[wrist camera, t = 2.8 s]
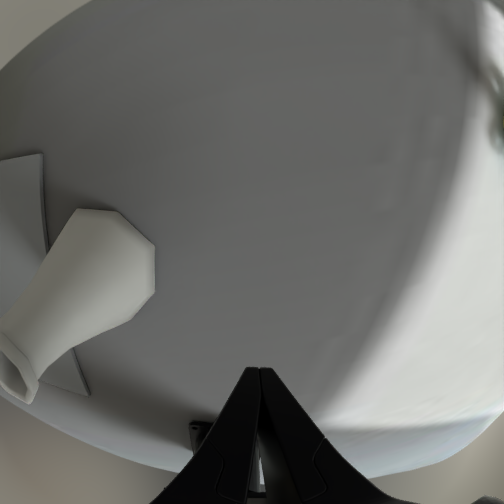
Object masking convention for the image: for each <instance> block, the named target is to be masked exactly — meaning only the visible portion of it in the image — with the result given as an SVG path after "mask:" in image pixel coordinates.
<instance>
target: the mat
mask: <svg viewBox="0 0 504 504" xmlns="http://www.w3.org/2000/svg"><path fill="white" fill-rule="evenodd" d="M48 252H49V245H48V237H47V229H46V219H45V207H44V190H43V153H41V154H34V155H28V156H23V157H17V158H12V159H7V160H2V161H0V318H1V317H2V316H4V315H5V314H6V313H7V312H8V311H9V310H10V309H11V308H12V306H13V305H14V303H15V302H16V301H17V299H18V298H19V297H20V295H21V294H22V293H23V292H24V290H25V289H26V288H27V287H28V285H29V284H30V283H31V281H32V279H33V277H34V276H35V274H36V272H37V270H38V269H39V267H40V265H41V264H42V262H43V260H44V259H45V257H46V255H47V254H48ZM38 380H40V381H43V382H45V383H48V384H51V385H53V386H56V387H59V388H62V389H65V390H67V391H70V392H73V393H77V394H80V395H83V396H86V397H89V396H90V392H89V390H88V387H87V385H86V382H85V380H84V377H83V375H82V372H81V370H80V367H79V364H78V362H77V359H76V356H75V353H74V350H73V347H72V348H70V349H69V350H68V351H66V352H65V353H64V354H63V355H61V356H60V357H59V358H58V359H57V360H55V361H54V362H53V363H52V364H51V365H49V366H48V367H47V368H46V370H45V371H44V372H43V374H42V375H41V376H40V378H39V379H38Z"/></svg>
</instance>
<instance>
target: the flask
mask: <svg viewBox="0 0 504 504" xmlns="http://www.w3.org/2000/svg"><path fill="white" fill-rule="evenodd" d="M154 293H155V246H154V245H153V244H152V243H151V242H150V241H149V240H147V239H146V238H145V237H144V236H143V235H142V234H141V233H140V232H139V231H138V230H137V229H136V228H134V227H133V226H132V225H131V224H130V223H129V222H128V221H127V220H126V219H125V218H124V217H123V216H122V215H121V214H120V213H119V212H116V211H104V210H93V209H81V208H77V209H76V210H75V212H74V213H73V214H72V216H71V217H70V219H69V220H68V222H67V223H66V225H65V226H64V228H63V230H62V231H61V233H60V234H59V236H58V238H57V239H56V241H55V243H54V244H53V246H52V248H51V249H50V251H49V252H48V254H47V255H46V257H45V259H44V260H43V262H42V264H41V265H40V267H39V269H38V270H37V272H36V274H35V276H34V277H33V279H32V281H31V283H30V284H29V285H28V287H27V288H26V289H25V290H24V292H23V293H22V294H21V295H20V297H19V298H18V299H17V301H16V302H15V303H14V305H13V306H12V308H11V309H10V310H9V311H8V312H7V313H6V314H5V315H4V316H2V317H1V318H0V385H1V386H2V387H3V388H4V389H5V390H6V391H7V392H8V393H9V394H11V395H13V396H14V397H16V398H18V399H20V400H22V401H23V402H25V403H27V404H29V405H30V404H31V402H32V401H33V398H34V396H35V394H36V392H37V390H38V387H39V382H38V379H39V378H40V376H41V375H42V374H43V372H44V371H45V370H46V368H47V367H48V366H49V365H51V364H52V363H53V362H54V361H55V360H57V359H58V358H59V357H60V356H61V355H63V354H64V353H65V352H66V351H68V350H69V349H70V348H72V347H74V346H76V345H78V344H80V343H82V342H84V341H86V340H88V339H90V338H92V337H94V336H96V335H98V334H100V333H102V332H105V331H107V330H109V329H112V328H114V327H116V326H119V325H121V324H123V323H125V322H127V321H129V320H131V319H132V318H133V317H134V316H135V314H136V313H137V312H138V311H139V310H140V309H141V308H142V306H143V305H144V304H145V303H146V302H147V301H148V300H149V298H150V297H151V296H152V295H153V294H154Z"/></svg>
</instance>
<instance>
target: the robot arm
mask: <svg viewBox="0 0 504 504" xmlns="http://www.w3.org/2000/svg"><path fill="white" fill-rule="evenodd" d="M189 431H190V438H191V444H192V449H193V455H194V456H193V457H192V459H191V460H190V461H189V462H188V463H187V465H186V466H185V467H184V468H183V469H182V471H181V472H180V473H179V474H178V475H177V476H176V477H175V478H174V479H173V480H172V482H171V483H170V484H169V485H168V486H167V487H166V488H164V490H163V491H162V492H161V493H160V494H159V495H158V496H157V497H156V498H155V499H154V500H153V501H152V502H150V503H149V504H418V503H413V502H409V501H404V500H400V499H396V498H394V497H391V496H389V495H387V494H386V493H384V492H383V491H381V490H380V489H378V488H377V487H376V486H375V485H374V484H373V483H371V482H370V481H369V480H368V479H367V478H365V477H364V476H363V475H362V474H361V473H360V472H359V471H357V470H356V469H355V468H354V467H353V466H352V465H351V464H350V463H349V462H348V461H347V460H346V459H344V458H343V457H342V455H341V454H340V453H339V452H338V451H337V450H336V449H335V448H334V447H333V445H332V444H331V443H330V442H329V440H328V439H327V438H325V436H324V434H323V433H322V432H321V431H320V429H319V428H318V427H317V426H316V424H315V423H314V422H313V421H312V419H311V418H310V417H309V416H308V414H307V413H306V412H305V411H304V409H303V408H302V407H301V405H300V404H299V403H298V402H297V400H296V399H295V398H294V396H293V395H292V394H291V392H290V391H289V390H288V388H287V387H286V386H285V384H284V383H283V382H282V380H281V379H280V378H279V376H278V375H277V374H276V372H275V371H274V370H273V369H272V368H266V367H261V368H260V369H259V368H258V367H246V368H245V370H244V372H243V374H242V375H241V377H240V379H239V381H238V382H237V384H236V386H235V388H234V390H233V391H232V393H231V395H230V397H229V398H228V400H227V402H226V404H225V405H224V407H223V409H222V410H221V412H220V414H219V416H218V417H217V419H216V421H215V422H214V423H203V422H190V424H189ZM260 457H261V463H262V470H263V477H264V483H265V489H266V492H260V471H259V460H260ZM472 504H504V502H503V501H502V500H501V499H498V498H496V497H491V496H486V495H485V496H483V497H481V498H480V499H478V500H476V501H475V502H473V503H472Z"/></svg>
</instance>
